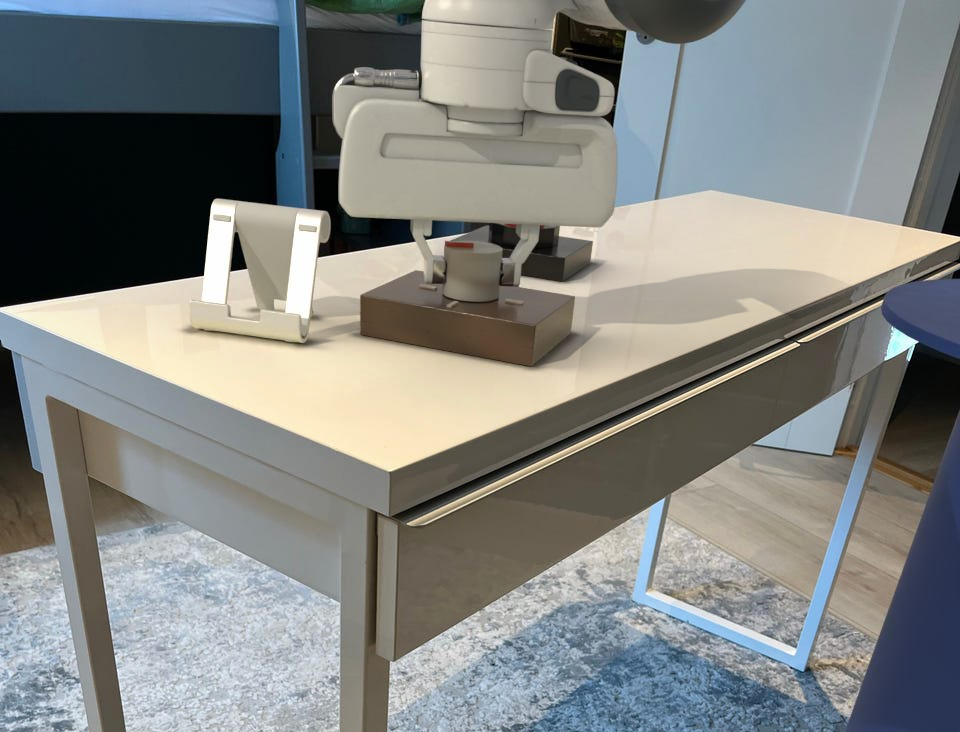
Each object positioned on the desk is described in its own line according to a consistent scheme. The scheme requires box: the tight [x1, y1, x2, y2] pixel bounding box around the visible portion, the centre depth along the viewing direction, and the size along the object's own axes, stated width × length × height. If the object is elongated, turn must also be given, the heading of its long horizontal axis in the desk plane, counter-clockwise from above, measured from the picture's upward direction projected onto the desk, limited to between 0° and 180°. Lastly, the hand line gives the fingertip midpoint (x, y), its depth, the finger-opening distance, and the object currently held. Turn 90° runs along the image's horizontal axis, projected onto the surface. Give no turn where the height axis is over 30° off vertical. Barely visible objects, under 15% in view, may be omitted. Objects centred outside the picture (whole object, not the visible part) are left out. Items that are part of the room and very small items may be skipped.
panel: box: [359, 269, 576, 367], centre depth 75 cm, size 14×10×3 cm
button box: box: [449, 223, 594, 282], centre depth 97 cm, size 12×10×4 cm
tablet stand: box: [188, 198, 332, 344], centre depth 71 cm, size 9×8×8 cm
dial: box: [442, 240, 503, 302], centre depth 73 cm, size 4×4×4 cm
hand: (471, 283), depth 73 cm, fingers closed on dial, 4 cm apart
